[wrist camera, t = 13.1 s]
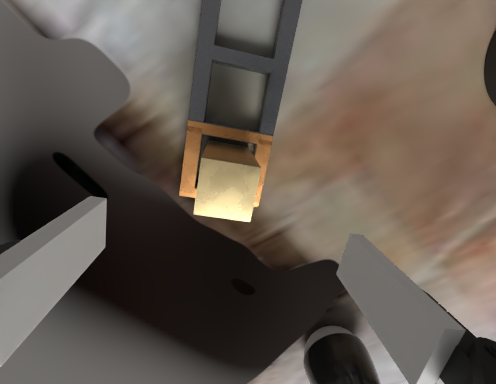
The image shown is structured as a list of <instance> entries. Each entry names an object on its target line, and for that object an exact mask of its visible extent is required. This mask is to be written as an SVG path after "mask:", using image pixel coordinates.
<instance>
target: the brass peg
mask: <svg viewBox="0 0 496 384" xmlns="http://www.w3.org/2000/svg"><path fill="white" fill-rule="evenodd" d="M260 172H261V166H260V165H259V163H258V162H257V160H256V159H255V157H254V156H253V154H252V152H251V151H250V149H249V148H248V147H244V146H238V145H233V144H227V143H222V142H216V141H211V140H209V142H208V144H207V146H206V148H205V151H204V153H203V155H202V157H201V164H200V171H199V178H198V185H197V193H196V200H195V207H194V214H195V215H203V216H210V217H217V218H225V219H232V220H239V221H246V222H250V220H251V215H252V210H253V206H254V201H255V196H256V191H257V187H258V182H259V177H260Z"/></svg>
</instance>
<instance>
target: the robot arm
mask: <svg viewBox="0 0 496 384" xmlns="http://www.w3.org/2000/svg"><path fill="white" fill-rule="evenodd" d="M485 83H486V88H487V91H488V94H489V96H490V98H491V100H492V102H493V103H494V104H495V106H496V32H495V34H494V36H493V39H492V41H491V44H490V46H489V49H488V53H487V57H486V63H485ZM106 201H107V199H106V198H99V197H92V196H90V197H88V198H87V199H85V200H84V201H82V202H81V203H79V204H78V205H76V206H75V207H73V208H71V209H70V210H68V211H67V212H66V213H64V214H62V215H61V216H59V217H57V218H56V219H54V220H53V221H51V222H50V223H48V224H47V225H45V226H44V227H42V228H41V229H39V230H38V231H36V232H34V233H33V234H31V235H30V236H28V237H27V238H25V239H23V240H22V241H21V240H13V241H11V242H8V243H5V244H2V245H0V367H1V366H2V365H3V364H4V363H5V361H6V360H7V359H8V358H9V357H10V356H11V355H12V353H13V352H14V351H15V350H16V349H17V348H18V347H19V346H20V344H21V343H22V342H23V341H24V340H25V339H26V337H27V336H28V335H29V334H30V333H31V332H32V331H33V329H34V328H35V327H36V326H37V325H38V324H39V322H40V321H41V320H42V319H43V318H44V317H45V316H46V314H47V313H48V312H49V311H50V310H51V309H52V307H53V306H54V305H55V304H56V303H57V302H58V301H59V300H60V298H61V297H62V296H63V295H64V294H65V293H66V291H67V290H68V289H69V288H70V287H71V286H72V285H73V283H74V282H75V281H76V280H77V279H78V278H79V277H80V275H81V274H82V273H83V272H84V271H85V270H86V269H87V267H88V266H89V265H90V264H91V263H92V261H93V260H94V259H95V258H96V257H97V256H98V255H99V253H100V252H101V251H102V250H103V249H104V248H105V235H106ZM337 276H338V278H339V279H340V281H341V282H342V284H343V285H344V286H345V288H346V290H347V291H348V293H349V294H350V296H351V297H352V299H353V300H354V302H355V303H356V305H357V306H358V308H359V309H360V311H361V312H362V314H363V315H364V317H365V318H366V320H367V321H368V323H369V324H370V326H371V327H372V329H373V330H374V332H375V333H376V335H377V336H378V338H379V339H380V341H381V342H382V344H383V345H384V347H385V348H386V350H387V351H388V353H389V354H390V356H391V357H392V359H393V360H394V362H395V363H396V365H397V366H398V368H399V369H400V371H401V372H402V374H403V375H404V377H405V378H406V380H407V381H408V383H409V384H436V383H437V382H438V380H439V378H440V379H441V380H442V381H443V382H444V384H496V342H495V341H492V340H490V339H487V338H482V337H478V338H476V337H475V336H474V335H473V334H472V333H471V332H470V331H469V330H468V329H466V328H465V327H464V326H463V325H462V324H461V323H460V322H459V321H458V320H457V319H455V318H454V317H453V316H452V315H451V314H450V313H449V312H446V309H445V308H443V307H442V306H441V305H440V304H438V302H437V301H436V300H435V299H434V298H433V297H431V296H430V295H429V294H428V293H426V292H425V291H423V290H422V289H421V288H419V287H418V286H417V285H416V284H415V283H414V282H413V281H412V280H411V279H410V278H409V277H408V276H406V275H405V274H404V273H403V272H402V271H401V270H400V269H399V268H398V267H397V266H396V265H395V264H394V263H392V262H391V261H390V260H389V259H388V258H387V257H386V256H385V255H384V254H383V253H382V252H381V251H379V250H378V249H377V248H376V247H375V246H374V245H373V244H372V243H371V242H370V241H369V240H368V239H366V238H365V237H364V236H363V235H359V234H352V233H350V235H349V238H348V241H347V244H346V247H345V250H344V253H343V256H342V259H341V262H340V265H339V268H338V271H337Z"/></svg>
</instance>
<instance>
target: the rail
mask: <svg viewBox="0 0 496 384" xmlns="http://www.w3.org/2000/svg"><path fill="white" fill-rule="evenodd" d="M301 4H302V0H283V3H282V8H281V13H280V18H279V23H278V28H277V33H276V38H275V43H274V49H273V54H272V58H267V57H263V56H259V55H255V54H250V53H246V52H242V51H238V50H233V49H229V48H225V47H220V46H216V45H215V42H216V34H217V27H218V20H219V12H220V5H221V0H202V9H201V17H200V26H199V34H198V43H197V51H196V60H195V68H194V77H193V85H192V94H191V102H190V111H189V119H188V126H187V135H186V143H185V152H184V160H183V169H182V177H181V186H180V194H179V195H180V196H187V197H193V198H196V193H197V185H198V184H197V183H196V182H197V174H198V167H199V160H200V152H201V145H202V137H203V135H208V136H214V137H219V138H225V139H230V140H236V141H241V142H247V143H252V144H255V146H254V151H253V156H254V157H255V159H256V160H257V162H258V163H259V165H260V166H261V172H260V177H259V182H258V187H257V191H256V196H255V201H254V206H255V207H258V206H259V201H260V196H261V192H262V187H263V182H264V178H265V173H266V168H267V164H268V159H269V154H270V150H271V145H272V141H273V134H274V130H275V125H276V120H277V116H278V111H279V106H280V102H281V97H282V92H283V88H284V83H285V78H286V74H287V69H288V64H289V60H290V55H291V50H292V46H293V41H294V36H295V32H296V27H297V22H298V18H299V13H300V9H301ZM213 63H217V64H221V65H226V66H230V67H235V68H239V69H244V70H248V71H253V72H257V73H262V74H266V75H268V79H267V84H266V89H265V95H264V100H263V105H262V110H261V115H260V120H259V125H258V130H257V131H254V130H248V129H243V128H238V127H232V126H227V125H222V124H217V123H211V122H206V121H205V115H206V108H207V101H208V93H209V86H210V79H211V71H212V64H213Z"/></svg>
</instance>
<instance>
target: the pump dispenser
mask: <svg viewBox="0 0 496 384" xmlns="http://www.w3.org/2000/svg"><path fill="white" fill-rule="evenodd" d="M304 368H305V372H306V375H307V377H308V379H309V382H310V384H381V383H380V380H379V377H378V374H377V371H376V369H375V366H374V364H373V361H372V359H371V357H370V355H369V352H368V350H367V349H366V347H365V345H364V344H363V342H362V341H361V340H360V339H359V338H357V337H356V336H355V335H353V334H352V333H351V332H350V331H348V330H346V329H345V328H342V327H339V326H325V327H322V328H319V329H318V330H316V331H315V332H314V333H312V334H311V336H310V337H309V339H308V340H307V343H306V345H305V351H304Z"/></svg>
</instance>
